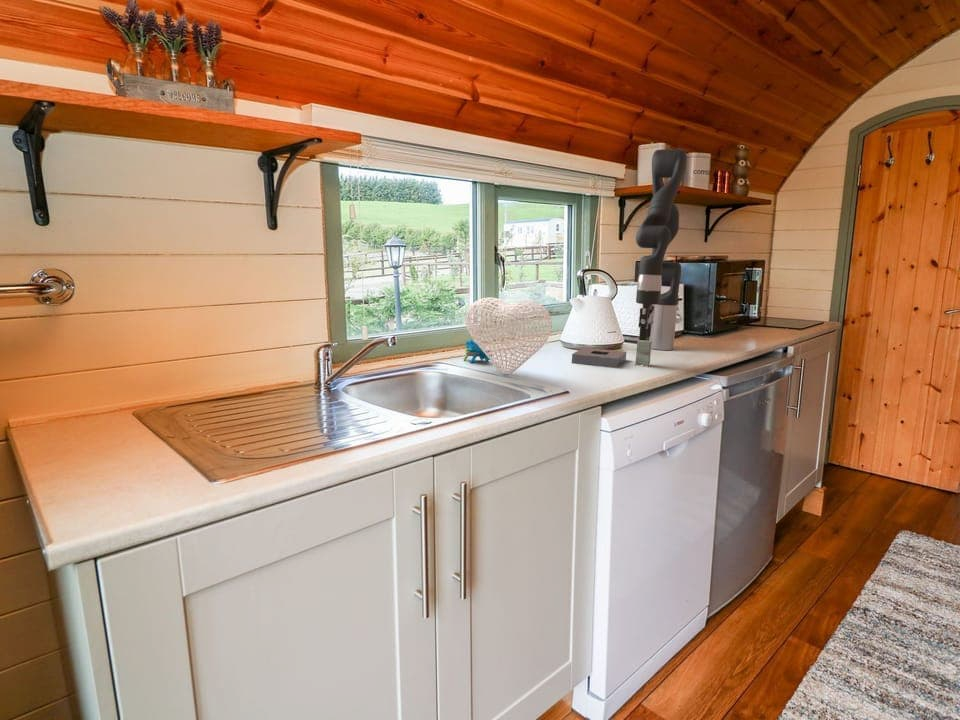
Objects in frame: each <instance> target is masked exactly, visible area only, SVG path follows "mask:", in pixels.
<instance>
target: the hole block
mask: <svg viewBox="0 0 960 720" xmlns="http://www.w3.org/2000/svg"><path fill="white" fill-rule="evenodd" d="M626 360H627V351H626V350H625V351H624V350H615V349H613V350H612V349H602V348H594V347H593V348H592V347H591V348H590V347H582V348H580V349H578V350H576V351H575V352H573V353H572V354H571V364H579V365H589V366H596V367H604V368H605V367H606V368H615V369H618V368H619V367H621V365H622V364H624V363H625V361H626ZM617 367H618V368H617Z"/></svg>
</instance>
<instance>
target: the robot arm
mask: <svg viewBox="0 0 960 720" xmlns="http://www.w3.org/2000/svg"><path fill="white" fill-rule="evenodd" d="M651 157H652V158H651V181H652V183H651V184H652V197H651V201H650V203H649V207H648V211H647V214H646V216H645V218H644V220H643V221H642V223H641V224H640V226H639V228H638V229H637V232H636V236H635V243H636V245H637V246H638V247H639V248H642V249H651V250H652V253H651V254H650V255H649V254H648V255H643V256H642V257H641V258H640V260H639V269H638V279H637V284H636V285H637V286H636V298H635V302H636V303H637V304H641V305H642V307H640V309H639V317H638V318H639V319H638V328H639V336H638V338H639V340H646V341H647V338H649V339H648V341H652V343H651V350H657V351H673V350H674V345H675V344H674V343H675V337H676V336H675V335H676V324H677V311H678V304H679V303H678V301H679V291H680V290H679V289H680V283H681V277H682V265H681V263H680V262H675V261H664V259H665V255H666V252H667V249H668V247H669V245H670V244H671V243H672V242H673V240H674V239H675V238H676V236H677V234H678V233H679V228H680V211H679V209H678V207H677V205H676V204H675V202H674V201H675V197H676V195H677V193H678V191H679V189H680V187H681V183H682V182H683V181H682V180H683V178H684V176H685V174H686V169H687V164H688V155H687V152H686V150H685V149H682V148H672V149H671V148H667V149H665V148H664V149H656V150H655V151H653V154H652V156H651ZM664 178H665V179H666V178H667V179H669V180H667V182H666V183H664ZM662 287H667V288H668V287H669V290H668V291H665V292H664V293H662ZM639 340H638V341H639Z"/></svg>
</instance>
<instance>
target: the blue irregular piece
mask: <svg viewBox="0 0 960 720" xmlns="http://www.w3.org/2000/svg"><path fill="white" fill-rule="evenodd" d="M465 347H466V349H465V350H464V351H465V354H466V355H465V357H463V361H466V360H467V359H468V357H472V358H471V359H470V361H469V363H471V364H474V362H475V361H476V359H477V357H479V359H480V360H482V361H486V362H489V361H490V359H489V358H488V357H487V355H486V354H485V353H484V352H483V351H482V349H481V348H480V347H479V346H478V345H477V344H476V342H475V341H474V340H472V339H469V341H468V340H466V342H465ZM483 348H484V347H483ZM486 352H487V351H486ZM488 352H489V353H491V352H490V351H489V350H488ZM491 356H492V355H491ZM492 357H493V356H492Z"/></svg>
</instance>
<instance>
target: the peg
mask: <svg viewBox="0 0 960 720" xmlns="http://www.w3.org/2000/svg"><path fill="white" fill-rule="evenodd" d="M651 343H652V341H649V340H647V339H646V340H637V342H636V352H635V353H636V354H635V355H636V356H635V366H636V365H643V366H642V367H645V366H648V365H649V364H650V363H651V354H652V353H651V352H652V349H651ZM649 366H650V365H649ZM649 366H648V367H649Z"/></svg>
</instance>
